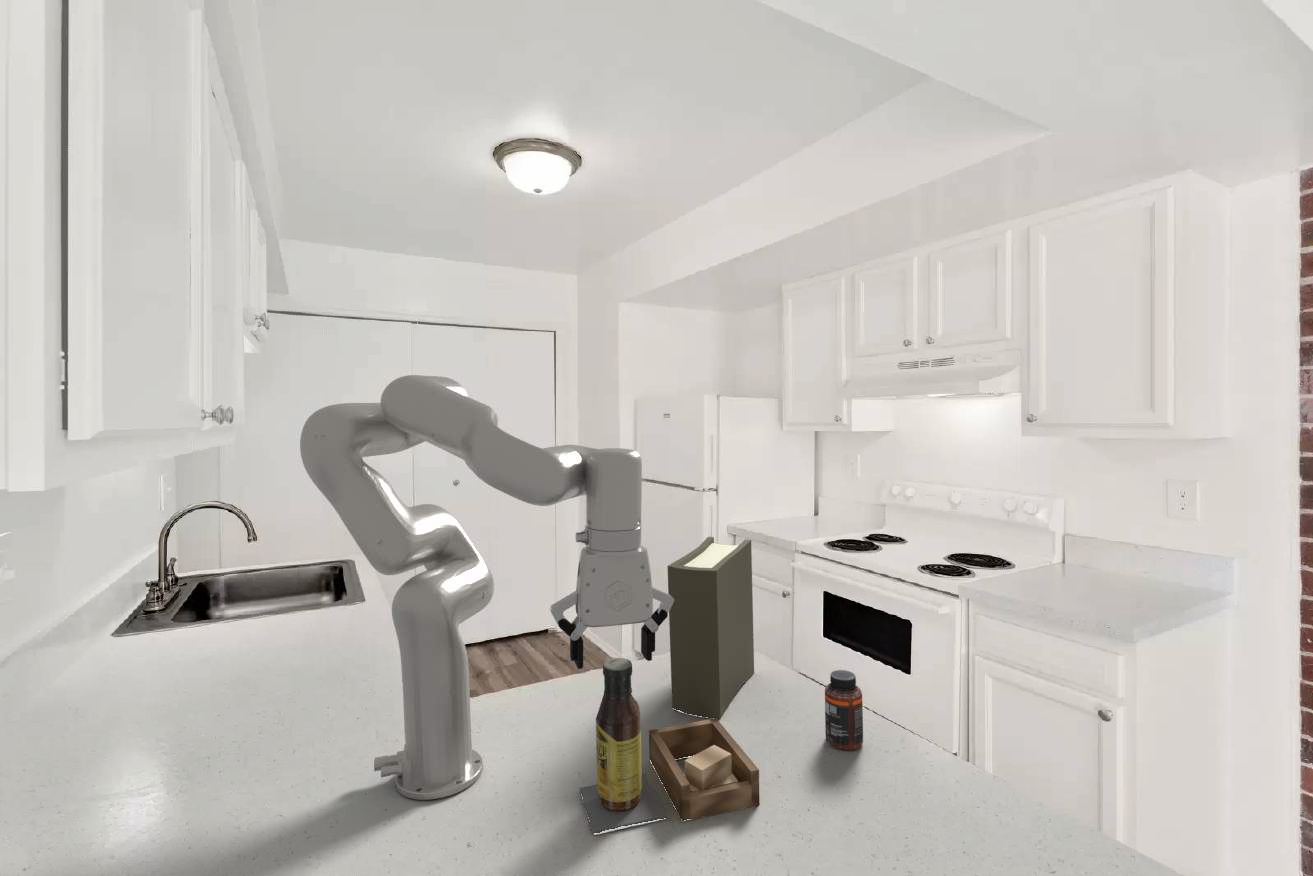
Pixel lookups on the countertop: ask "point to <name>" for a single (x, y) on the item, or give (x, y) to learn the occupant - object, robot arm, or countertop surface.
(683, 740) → the tray
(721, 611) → the book
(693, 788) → the offcut low
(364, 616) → the countertop surface
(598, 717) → the sauce bottle
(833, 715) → the supplement bottle
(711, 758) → the offcut top
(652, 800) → the mat
